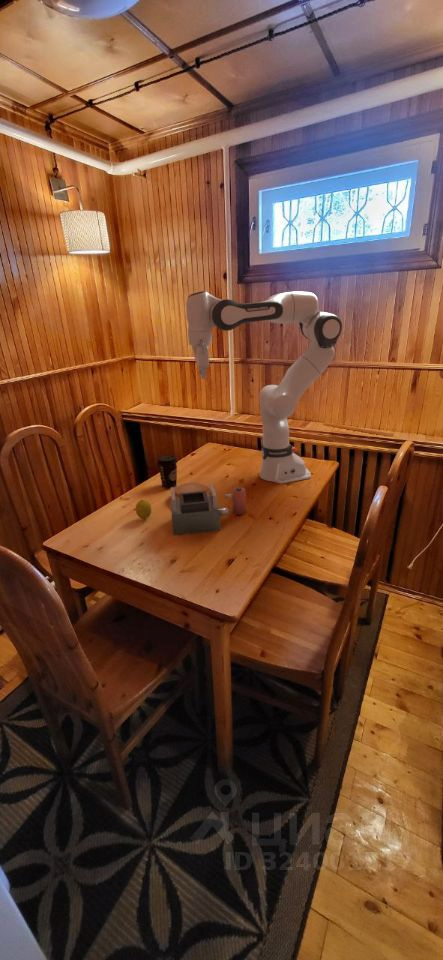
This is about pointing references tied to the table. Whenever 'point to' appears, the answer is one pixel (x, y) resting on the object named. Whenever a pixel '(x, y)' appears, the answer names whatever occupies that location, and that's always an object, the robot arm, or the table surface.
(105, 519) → the table surface
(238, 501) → the pink cylinder with stub
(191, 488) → the pie
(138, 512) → the lemon
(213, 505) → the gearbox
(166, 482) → the coffee cup
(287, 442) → the robot arm
